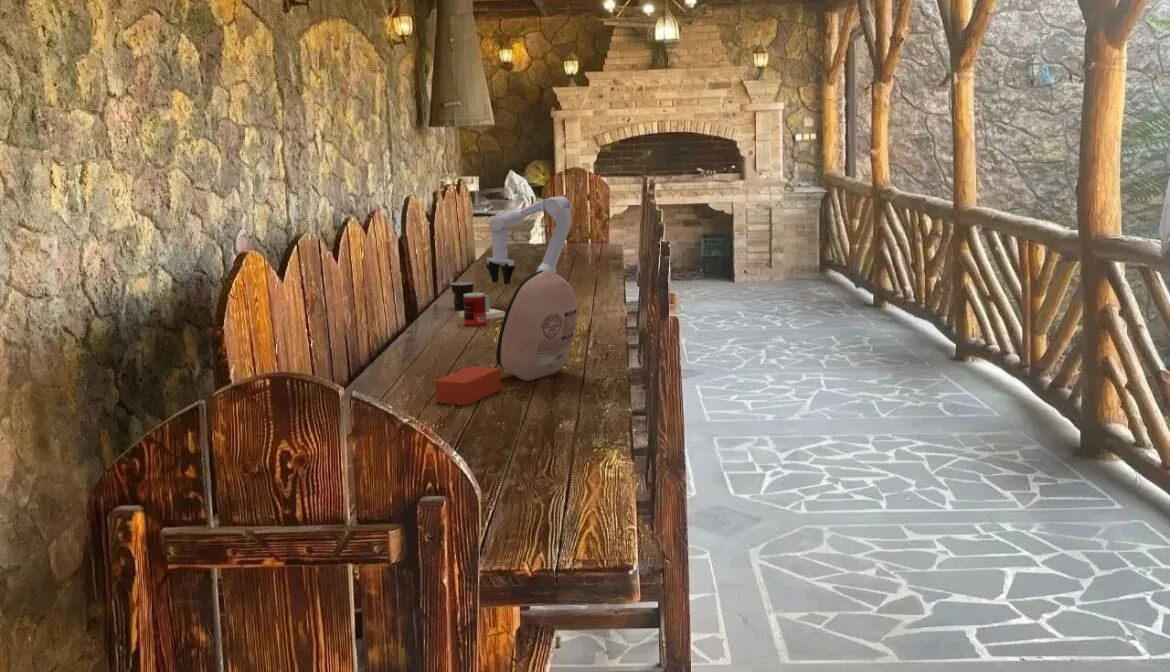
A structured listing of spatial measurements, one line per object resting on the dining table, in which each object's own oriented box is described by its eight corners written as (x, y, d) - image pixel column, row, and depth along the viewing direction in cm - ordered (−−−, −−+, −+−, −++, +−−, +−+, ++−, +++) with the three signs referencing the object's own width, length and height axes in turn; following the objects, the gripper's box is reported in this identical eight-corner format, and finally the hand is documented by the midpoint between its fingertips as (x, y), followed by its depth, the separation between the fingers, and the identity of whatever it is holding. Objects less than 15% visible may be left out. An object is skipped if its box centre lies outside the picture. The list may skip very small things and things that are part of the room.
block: (489, 311, 392) (488, 295, 391) (480, 312, 390) (480, 296, 389) (483, 310, 395) (482, 294, 394) (474, 311, 393) (473, 295, 392)
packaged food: (539, 365, 308) (537, 263, 302) (592, 374, 296) (590, 267, 290) (486, 380, 291) (482, 271, 286) (539, 389, 279) (536, 276, 273)
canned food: (488, 322, 380) (487, 292, 378) (483, 326, 372) (482, 295, 370) (467, 322, 381) (465, 292, 379) (462, 326, 373) (461, 295, 371)
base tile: (504, 316, 392) (504, 311, 392) (478, 320, 385) (477, 315, 384) (485, 312, 401) (485, 307, 401) (459, 316, 393) (459, 311, 393)
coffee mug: (472, 310, 407) (471, 284, 405) (450, 311, 407) (449, 285, 405) (476, 305, 418) (475, 280, 416) (454, 306, 418) (453, 281, 417)
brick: (472, 387, 284) (471, 365, 283) (501, 390, 280) (500, 368, 279) (435, 403, 268) (434, 380, 267) (466, 406, 264) (465, 383, 263)
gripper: (480, 247, 406) (481, 282, 408) (502, 249, 395) (504, 286, 398) (494, 245, 410) (496, 280, 413) (517, 248, 400) (518, 284, 402)
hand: (501, 283), depth 406 cm, fingers open, 7 cm apart
